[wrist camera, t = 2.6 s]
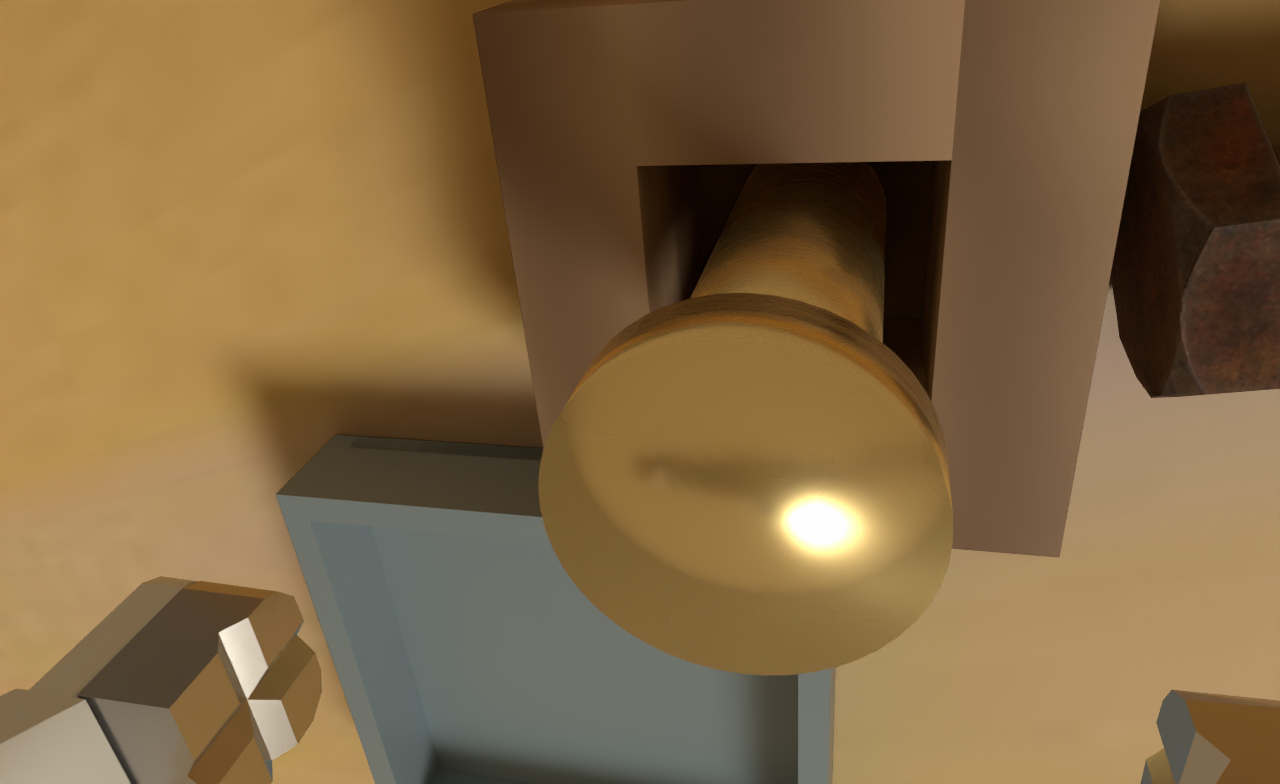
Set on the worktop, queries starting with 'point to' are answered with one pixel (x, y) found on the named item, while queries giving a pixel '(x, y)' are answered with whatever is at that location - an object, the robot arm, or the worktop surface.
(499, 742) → the tray
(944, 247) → the holder
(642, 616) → the pin
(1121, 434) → the worktop surface
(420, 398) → the worktop surface
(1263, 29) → the worktop surface
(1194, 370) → the bolt
